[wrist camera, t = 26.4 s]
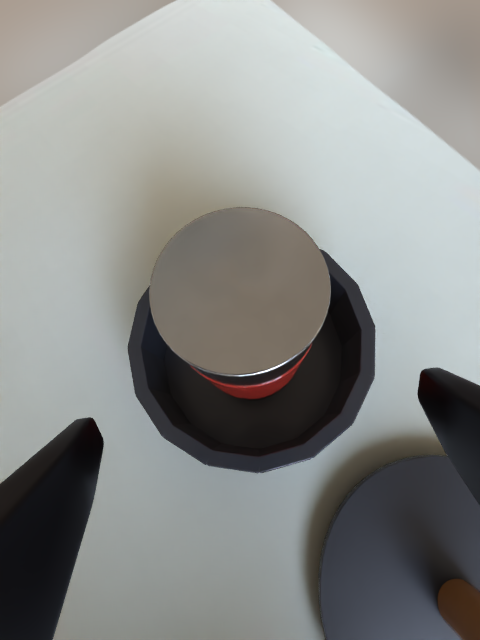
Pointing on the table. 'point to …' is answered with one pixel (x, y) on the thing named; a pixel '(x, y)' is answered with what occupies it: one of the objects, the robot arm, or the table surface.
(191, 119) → the table surface
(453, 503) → the lid
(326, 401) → the pot
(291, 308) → the cylinder
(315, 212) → the table surface
